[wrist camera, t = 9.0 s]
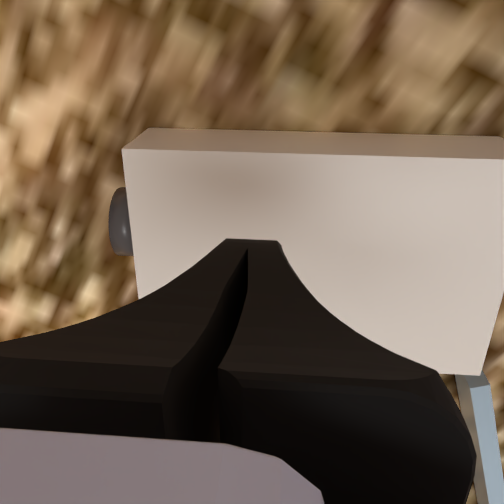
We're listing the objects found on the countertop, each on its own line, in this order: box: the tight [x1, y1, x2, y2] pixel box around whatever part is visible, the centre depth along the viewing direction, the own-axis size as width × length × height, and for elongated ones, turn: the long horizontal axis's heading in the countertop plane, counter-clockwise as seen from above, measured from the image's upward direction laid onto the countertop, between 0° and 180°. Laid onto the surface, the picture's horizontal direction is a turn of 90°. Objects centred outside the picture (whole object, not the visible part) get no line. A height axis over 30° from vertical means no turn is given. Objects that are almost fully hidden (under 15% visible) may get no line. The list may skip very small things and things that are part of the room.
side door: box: [455, 371, 504, 504], centre depth 24 cm, size 13×2×3 cm, turn 18°
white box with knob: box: [109, 128, 504, 376], centre depth 20 cm, size 15×9×4 cm, turn 90°
